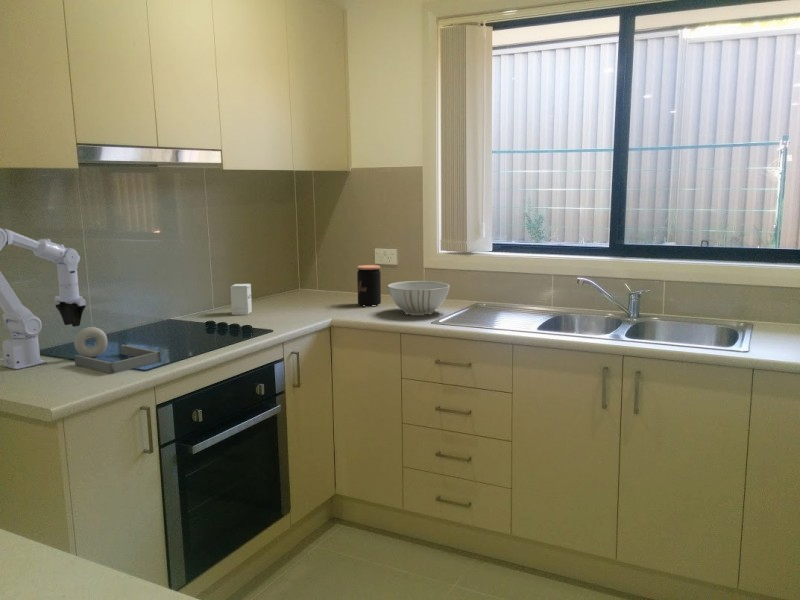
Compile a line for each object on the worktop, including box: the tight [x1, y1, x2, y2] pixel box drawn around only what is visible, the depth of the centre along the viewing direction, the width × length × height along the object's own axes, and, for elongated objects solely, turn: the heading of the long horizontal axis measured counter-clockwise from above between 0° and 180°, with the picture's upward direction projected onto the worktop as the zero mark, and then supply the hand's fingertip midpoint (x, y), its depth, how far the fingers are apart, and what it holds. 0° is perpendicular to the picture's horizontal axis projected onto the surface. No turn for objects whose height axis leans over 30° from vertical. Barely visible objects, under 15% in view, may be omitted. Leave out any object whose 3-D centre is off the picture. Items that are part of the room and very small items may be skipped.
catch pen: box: [73, 344, 162, 374], centre depth 208 cm, size 17×19×3 cm
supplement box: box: [230, 283, 253, 316], centre depth 289 cm, size 7×7×13 cm
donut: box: [73, 326, 109, 358], centre depth 215 cm, size 10×4×10 cm, turn 125°
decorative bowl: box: [387, 280, 451, 316], centre depth 288 cm, size 27×27×12 cm
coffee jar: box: [356, 264, 382, 306], centre depth 308 cm, size 11×11×18 cm
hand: (72, 325), depth 220 cm, fingers open, 4 cm apart
